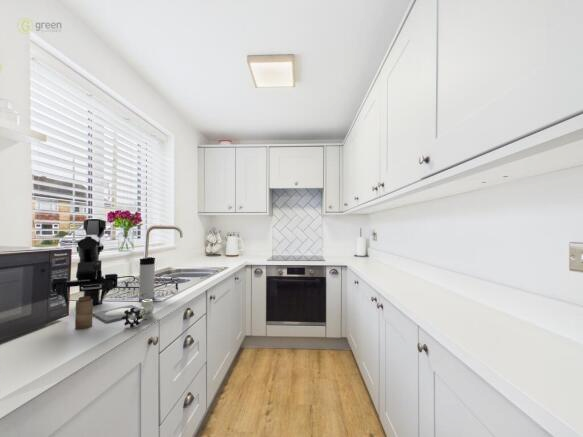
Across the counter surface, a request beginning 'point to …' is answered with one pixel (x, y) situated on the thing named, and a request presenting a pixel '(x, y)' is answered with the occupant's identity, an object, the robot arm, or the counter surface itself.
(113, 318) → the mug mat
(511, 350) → the counter surface
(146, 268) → the travel mug
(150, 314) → the valve
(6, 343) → the counter surface
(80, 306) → the pepper mill
